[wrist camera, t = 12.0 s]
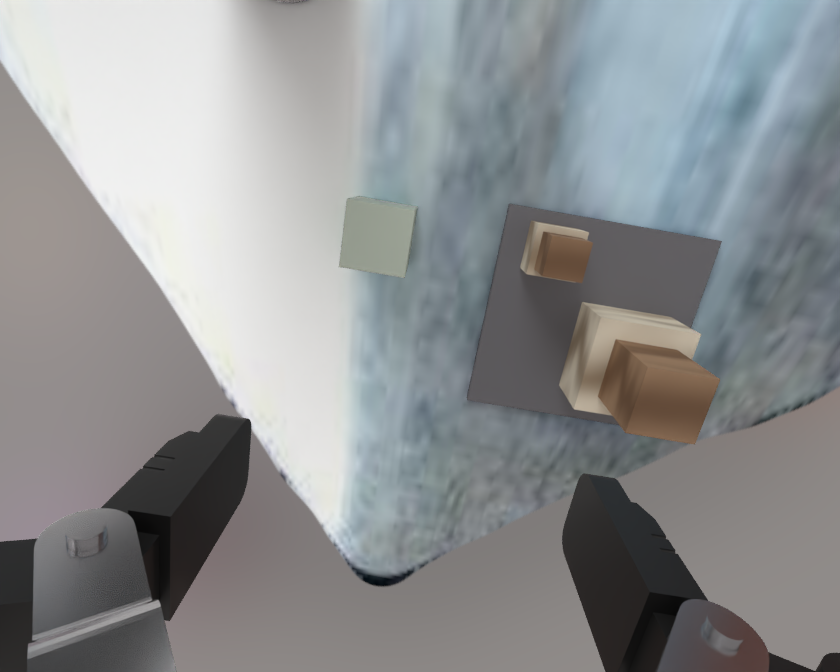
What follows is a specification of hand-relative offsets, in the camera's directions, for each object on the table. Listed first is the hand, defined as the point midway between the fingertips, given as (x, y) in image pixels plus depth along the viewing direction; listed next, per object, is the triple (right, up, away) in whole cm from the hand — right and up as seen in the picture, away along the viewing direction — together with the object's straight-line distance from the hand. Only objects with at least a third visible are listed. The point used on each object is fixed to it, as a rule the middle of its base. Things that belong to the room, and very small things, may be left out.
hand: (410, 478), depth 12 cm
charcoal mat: (+15, +5, +32) cm, 36 cm away
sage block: (-3, +12, +30) cm, 33 cm away
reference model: (+11, +11, +29) cm, 33 cm away
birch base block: (+18, +2, +32) cm, 37 cm away
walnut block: (+18, 0, +27) cm, 32 cm away
